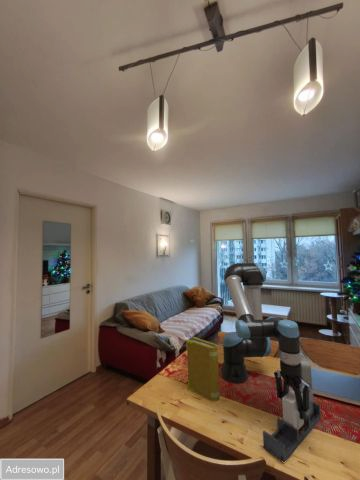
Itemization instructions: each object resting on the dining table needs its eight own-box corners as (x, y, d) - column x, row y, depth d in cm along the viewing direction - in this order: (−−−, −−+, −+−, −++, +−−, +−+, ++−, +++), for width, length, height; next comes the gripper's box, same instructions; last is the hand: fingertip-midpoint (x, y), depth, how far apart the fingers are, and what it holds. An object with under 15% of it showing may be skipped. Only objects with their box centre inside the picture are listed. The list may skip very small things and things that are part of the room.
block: (283, 427, 84) (282, 398, 84) (293, 417, 88) (291, 389, 89) (294, 434, 80) (292, 403, 81) (303, 423, 85) (301, 394, 86)
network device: (319, 411, 95) (316, 364, 96) (297, 409, 97) (295, 363, 98) (299, 378, 120) (297, 341, 121) (282, 376, 122) (280, 340, 123)
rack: (263, 447, 78) (261, 414, 79) (301, 408, 97) (300, 382, 97) (284, 463, 72) (282, 427, 73) (320, 418, 91) (318, 390, 91)
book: (187, 389, 113) (186, 340, 115) (195, 383, 118) (194, 336, 120) (214, 403, 102) (212, 349, 103) (222, 396, 106) (220, 344, 108)
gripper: (265, 356, 91) (268, 414, 89) (309, 373, 77) (313, 442, 75) (274, 351, 95) (277, 406, 94) (317, 366, 82) (322, 431, 80)
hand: (293, 422), depth 85 cm, fingers closed on block, 4 cm apart
